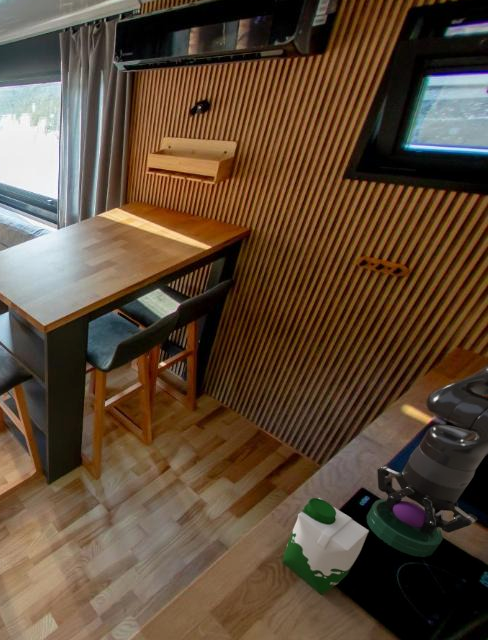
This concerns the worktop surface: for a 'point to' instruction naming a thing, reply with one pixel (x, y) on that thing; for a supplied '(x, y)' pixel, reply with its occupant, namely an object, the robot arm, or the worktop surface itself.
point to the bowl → (401, 532)
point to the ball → (410, 513)
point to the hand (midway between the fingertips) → (407, 519)
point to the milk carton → (323, 545)
